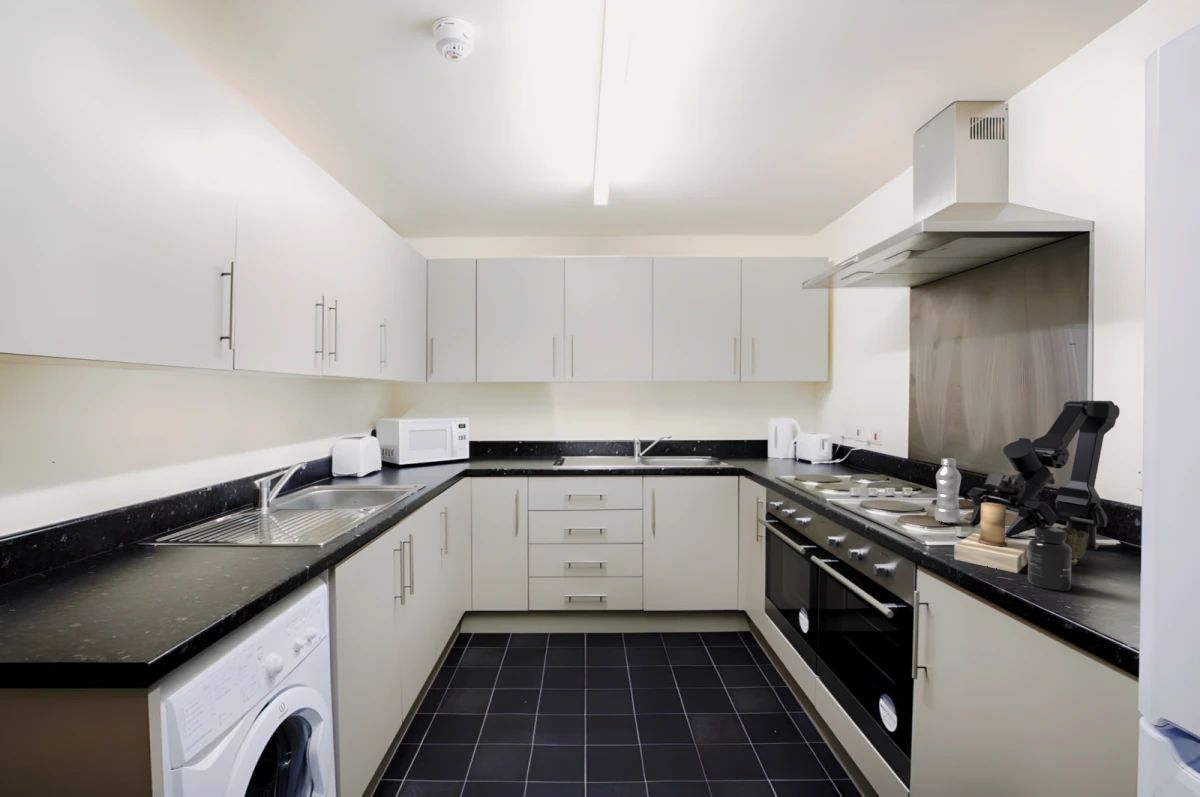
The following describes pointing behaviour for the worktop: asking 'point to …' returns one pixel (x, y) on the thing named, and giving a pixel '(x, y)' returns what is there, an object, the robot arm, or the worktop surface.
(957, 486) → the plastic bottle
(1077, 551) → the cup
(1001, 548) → the light wooden block
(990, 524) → the oak peg
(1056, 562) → the supplement bottle
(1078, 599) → the worktop surface
